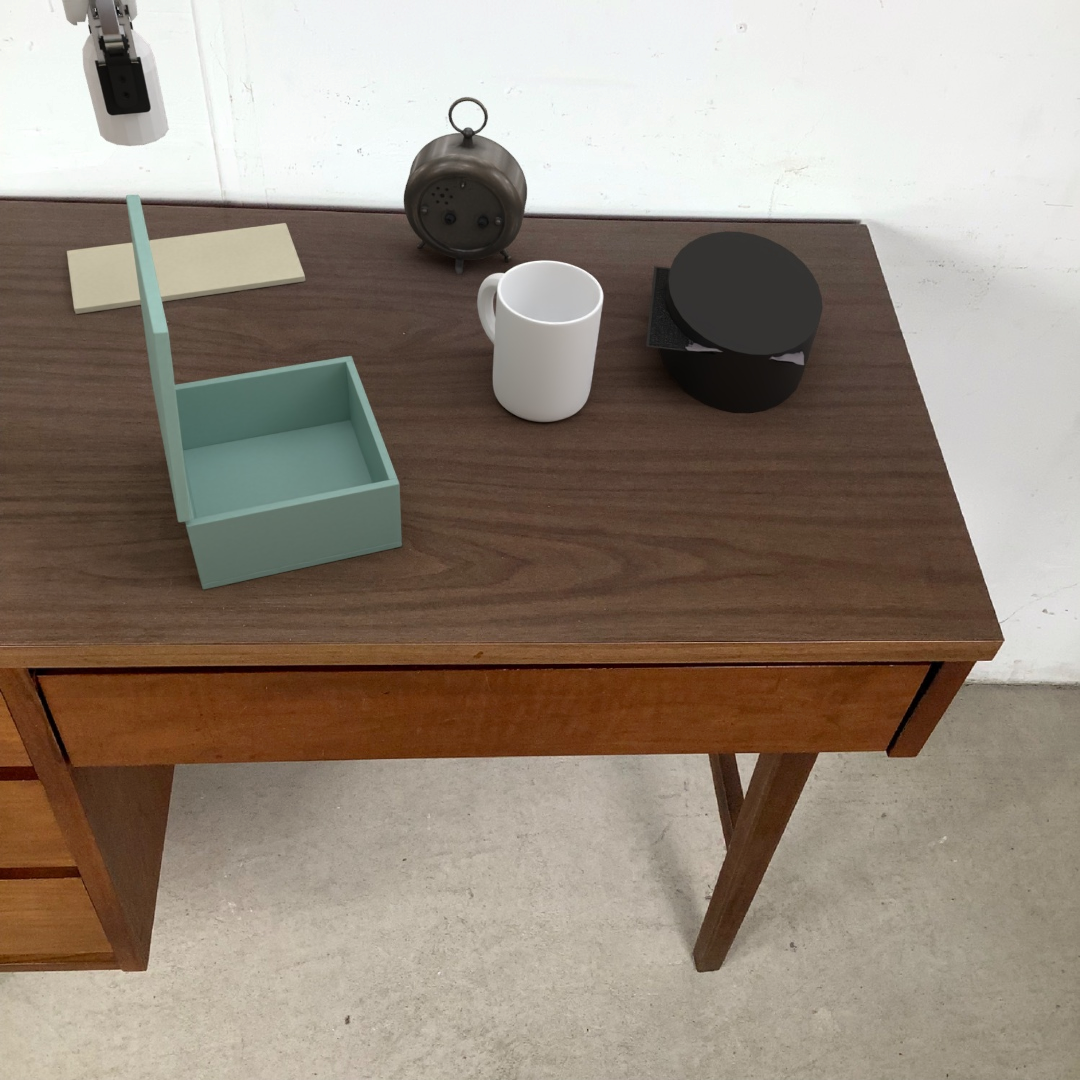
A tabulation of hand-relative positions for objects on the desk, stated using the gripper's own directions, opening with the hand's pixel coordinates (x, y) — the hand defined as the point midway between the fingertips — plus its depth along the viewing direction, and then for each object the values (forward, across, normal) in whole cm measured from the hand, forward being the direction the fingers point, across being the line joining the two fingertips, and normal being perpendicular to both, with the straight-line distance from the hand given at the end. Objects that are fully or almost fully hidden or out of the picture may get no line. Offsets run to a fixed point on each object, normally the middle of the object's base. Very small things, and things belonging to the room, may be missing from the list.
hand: (125, 91), depth 83 cm
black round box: (+18, +21, +46) cm, 54 cm away
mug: (+18, +21, +27) cm, 39 cm away
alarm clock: (+18, +3, +27) cm, 33 cm away
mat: (+18, -2, +2) cm, 18 cm away
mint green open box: (+18, +29, +5) cm, 35 cm away
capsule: (+3, 0, 0) cm, 3 cm away
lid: (+3, +29, -1) cm, 30 cm away
